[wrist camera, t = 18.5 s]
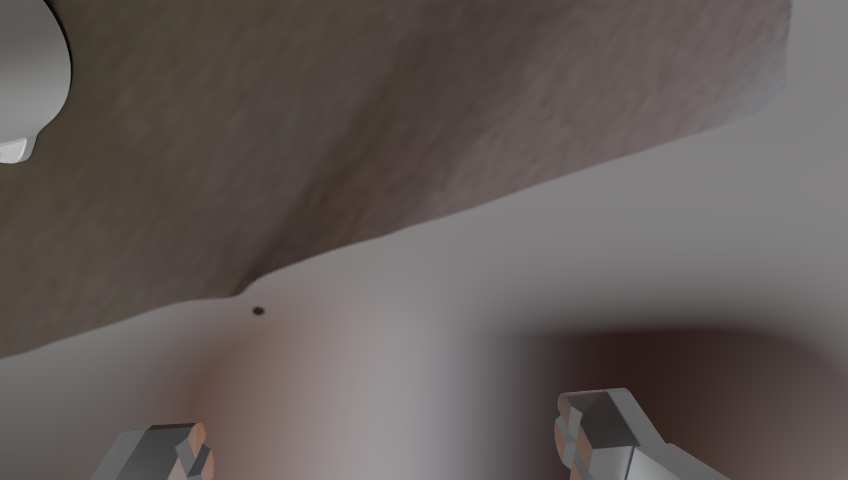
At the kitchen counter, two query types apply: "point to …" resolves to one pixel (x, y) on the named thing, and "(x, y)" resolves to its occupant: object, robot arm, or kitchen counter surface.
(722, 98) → the kitchen counter surface
